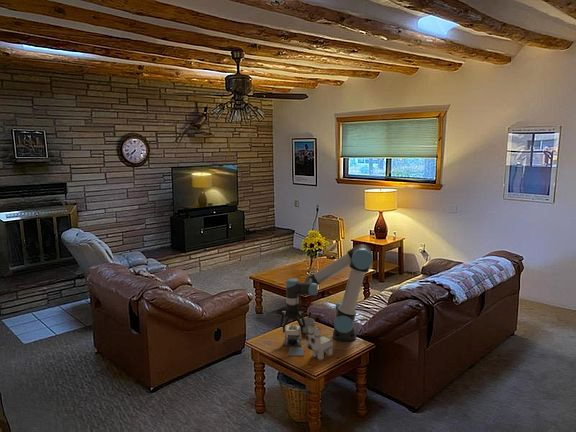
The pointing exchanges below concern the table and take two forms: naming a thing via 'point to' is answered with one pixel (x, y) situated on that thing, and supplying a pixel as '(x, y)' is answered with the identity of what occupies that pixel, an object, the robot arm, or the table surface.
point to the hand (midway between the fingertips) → (292, 337)
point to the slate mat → (296, 351)
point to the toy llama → (318, 343)
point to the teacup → (307, 324)
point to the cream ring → (292, 332)
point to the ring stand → (293, 340)
